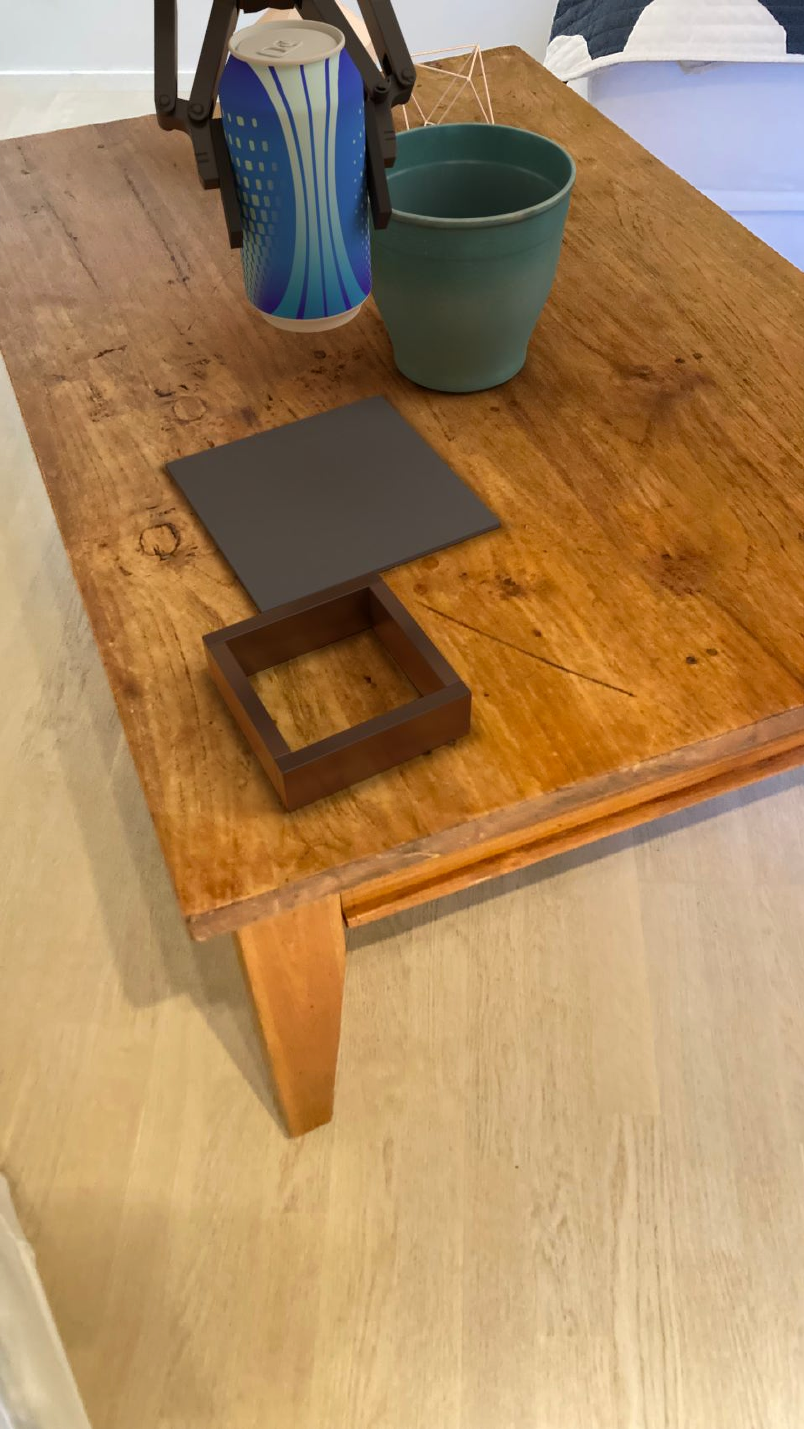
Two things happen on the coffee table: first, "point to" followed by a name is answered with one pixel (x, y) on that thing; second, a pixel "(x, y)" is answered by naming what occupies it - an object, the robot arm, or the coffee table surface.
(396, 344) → the flower pot
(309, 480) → the rubber mat
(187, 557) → the coffee table surface
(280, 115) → the beer can
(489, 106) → the geometric polyhedron
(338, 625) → the can holder
